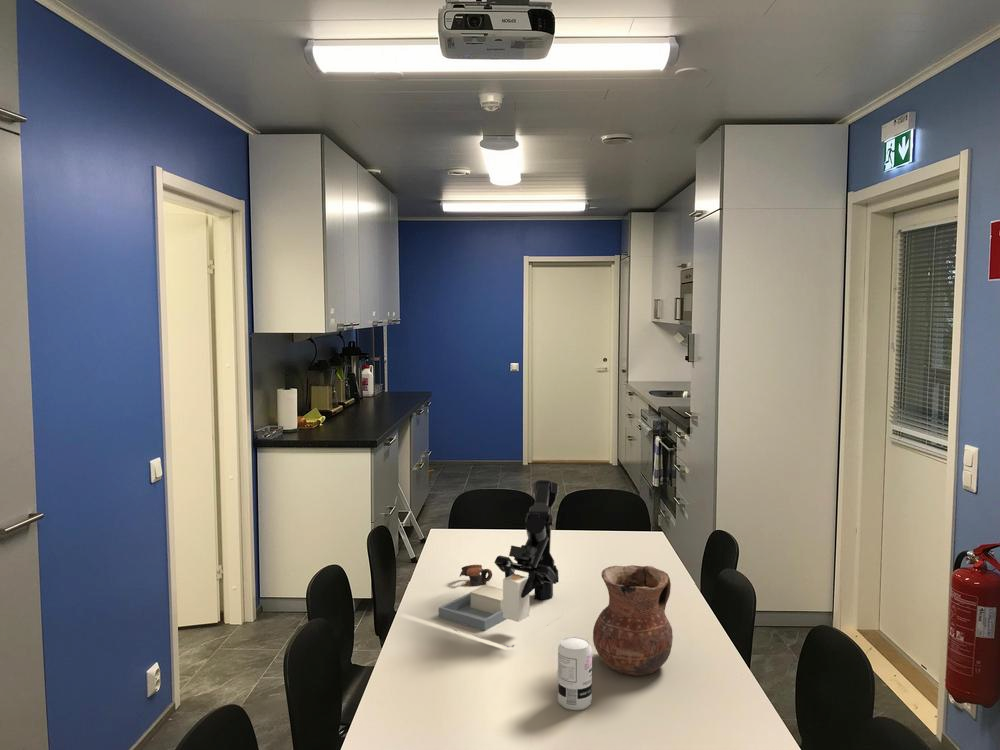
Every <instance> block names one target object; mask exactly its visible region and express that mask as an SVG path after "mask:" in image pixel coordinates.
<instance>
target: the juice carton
mask: <svg viewBox="0 0 1000 750" xmlns="http://www.w3.org/2000/svg"><path fill="white" fill-rule="evenodd" d="M527 580H528V576H524V575H520V574H516V573H515V574H513V575H510V576H508V577H506V578H505V577H504V578H503V579H502V589H503V618H506V620H511V621H514V622H517V623H521V621H523V620H525V619H527V618H528V617H530V593H529V594H527V595H526V596H525V597H524V598H522V597H521V594H522V591H523V589H524V586H525V584H526V582H527Z"/></svg>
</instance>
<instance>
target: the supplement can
mask: <svg viewBox="0 0 1000 750" xmlns="http://www.w3.org/2000/svg"><path fill="white" fill-rule="evenodd" d="M592 673H593V648H592V647H591V644H590V641H588V639H585V638H583V637H579V636H568V637H565V638H562V639H561V641H560V643H559V645H558V646H557V702H558V703H559V705H561V707H563V708H564V709H567V710H570V711H582V710H585V709H587V708H588V707H589V706H590V705H591V704H592V703H593V702H592V700H593V689H592V688H593V684H592V683H593V674H592Z"/></svg>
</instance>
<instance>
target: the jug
mask: <svg viewBox="0 0 1000 750" xmlns="http://www.w3.org/2000/svg"><path fill="white" fill-rule="evenodd" d="M601 578H602V580H603V583H605V586H606V588H607V592H608V596H609V597H608V598H609V599H608V605H607V606H606V607H604V609H602V610H601V612H600V613H599V615H598V616H597V619H596V621H595V623H594V625H593V631H592V642H593V646H594V647H595V651H597V654H598V655H599V657H600V659H601V660H602V662H604V663H605V665H607V666H608V667H609V668H610V669H612V670H613V671H616V672H619V673H621V674H623V675H628V676H632V677H633V676H634V677H636V676H639V677H640V676H648V675H651V674H654V673H655V672H656V671H657V670H659V669H660V668H661V667H662V666H663V665H664V664H666V662H667V661H668V659H669V657H670V654H671V650H672V647H673V637H674V636H673V628H672V625H671V622H670V621H669V619H668V617H667V615H666V608H667V603H668V601H669V598H670V595H671V589H672V588H671V586H672V583H671V578H670V576H669V574H668V573H667V572H665V571H664V570H661V569H658V568H656V567H654V566H652V565H645V566H643V565H641V566H640V565H625V566H623V565H612V566H608V567H606V568H604V569H603V570H602V571H601Z"/></svg>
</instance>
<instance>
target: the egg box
mask: <svg viewBox="0 0 1000 750" xmlns="http://www.w3.org/2000/svg"><path fill="white" fill-rule="evenodd" d="M469 593H470V594H471V607H472V608H475V609H479V610H482V611H486V612H489V613H493V614H495V613H497V612H499V611H501V610H503V588H500V587H498V586H497V587H496V586H492V585H489V584H483V585H481V586H479V587H477V588H476V589H474V590H471V591H469Z"/></svg>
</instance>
